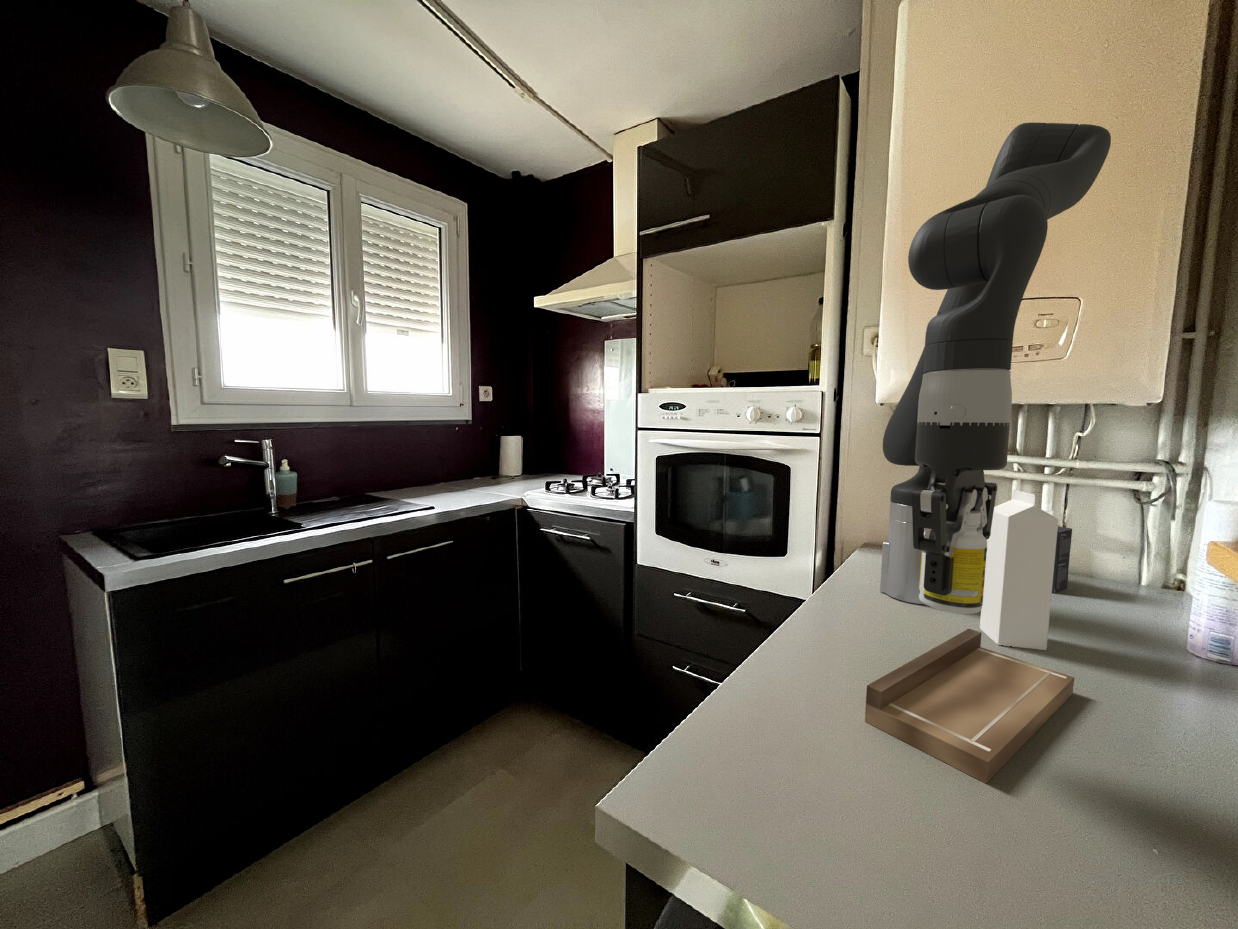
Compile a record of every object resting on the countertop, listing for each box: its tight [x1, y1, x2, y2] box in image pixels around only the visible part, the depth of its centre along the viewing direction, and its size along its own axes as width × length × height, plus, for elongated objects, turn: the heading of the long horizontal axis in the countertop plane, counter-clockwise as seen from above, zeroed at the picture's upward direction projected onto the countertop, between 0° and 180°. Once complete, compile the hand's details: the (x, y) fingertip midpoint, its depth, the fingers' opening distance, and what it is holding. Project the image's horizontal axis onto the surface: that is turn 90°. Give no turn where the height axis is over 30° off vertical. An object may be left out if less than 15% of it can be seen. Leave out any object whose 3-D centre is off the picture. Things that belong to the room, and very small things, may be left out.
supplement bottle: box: [919, 511, 987, 615], centre depth 50 cm, size 5×5×10 cm
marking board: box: [864, 628, 1075, 784], centre depth 56 cm, size 11×26×4 cm, turn 125°
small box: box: [986, 526, 1073, 594], centre depth 100 cm, size 13×7×12 cm, turn 32°
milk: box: [979, 489, 1059, 651], centre depth 73 cm, size 6×6×22 cm
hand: (950, 586), depth 50 cm, fingers closed on supplement bottle, 5 cm apart
